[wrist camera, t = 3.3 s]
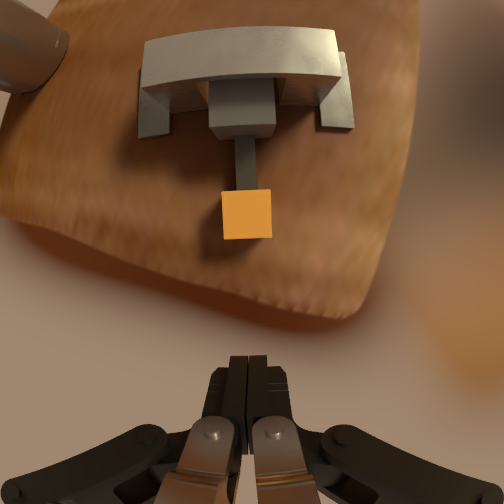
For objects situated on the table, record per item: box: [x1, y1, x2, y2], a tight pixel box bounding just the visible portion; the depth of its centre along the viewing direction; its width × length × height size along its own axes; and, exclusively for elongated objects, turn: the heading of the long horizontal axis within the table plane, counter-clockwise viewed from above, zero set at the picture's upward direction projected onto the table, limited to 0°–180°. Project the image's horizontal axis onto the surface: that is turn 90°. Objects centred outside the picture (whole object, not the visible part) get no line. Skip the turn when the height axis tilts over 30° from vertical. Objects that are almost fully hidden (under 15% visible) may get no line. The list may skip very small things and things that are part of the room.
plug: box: [209, 78, 276, 239], centre depth 20 cm, size 12×4×5 cm, turn 2°
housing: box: [138, 26, 354, 139], centre depth 17 cm, size 8×19×7 cm, turn 92°
